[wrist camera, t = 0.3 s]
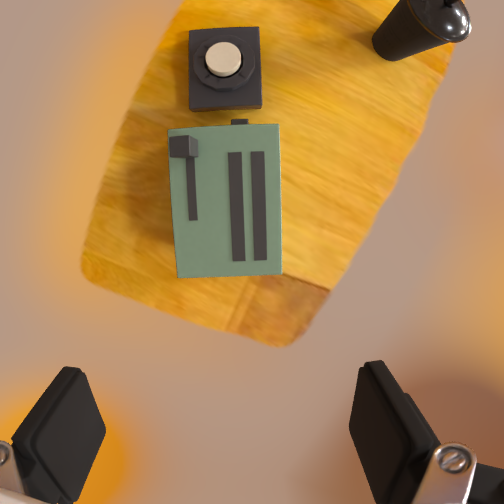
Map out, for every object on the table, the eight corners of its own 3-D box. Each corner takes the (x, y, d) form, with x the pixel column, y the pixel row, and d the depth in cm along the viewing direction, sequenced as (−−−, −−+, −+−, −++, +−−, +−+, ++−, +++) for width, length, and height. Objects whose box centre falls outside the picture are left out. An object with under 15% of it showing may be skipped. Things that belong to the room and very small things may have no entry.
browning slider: (180, 141, 27) (168, 136, 23) (198, 139, 27) (189, 134, 23) (181, 158, 28) (169, 157, 23) (198, 157, 28) (190, 155, 23)
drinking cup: (351, 44, 33) (428, -29, 14) (377, 11, 31) (453, -61, 12) (398, 82, 34) (498, 40, 15) (421, 47, 33) (515, -1, 13)
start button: (207, 48, 30) (205, 43, 28) (240, 46, 30) (240, 41, 28) (207, 77, 31) (205, 73, 29) (241, 75, 31) (241, 71, 29)
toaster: (184, 130, 36) (167, 120, 27) (270, 126, 36) (279, 114, 27) (191, 253, 39) (177, 278, 31) (273, 250, 40) (282, 274, 31)
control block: (191, 37, 32) (186, 25, 28) (258, 34, 32) (259, 21, 29) (192, 112, 35) (186, 106, 31) (261, 108, 35) (263, 102, 31)
